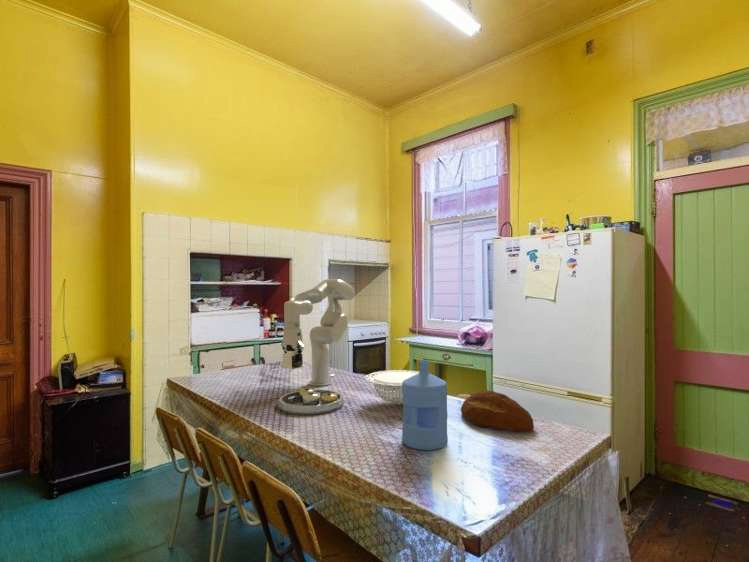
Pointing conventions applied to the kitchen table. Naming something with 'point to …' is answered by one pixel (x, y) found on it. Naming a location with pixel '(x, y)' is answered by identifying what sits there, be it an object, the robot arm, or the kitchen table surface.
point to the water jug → (424, 410)
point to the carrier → (310, 402)
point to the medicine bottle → (291, 359)
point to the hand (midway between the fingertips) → (292, 360)
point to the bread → (496, 412)
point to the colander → (390, 383)
